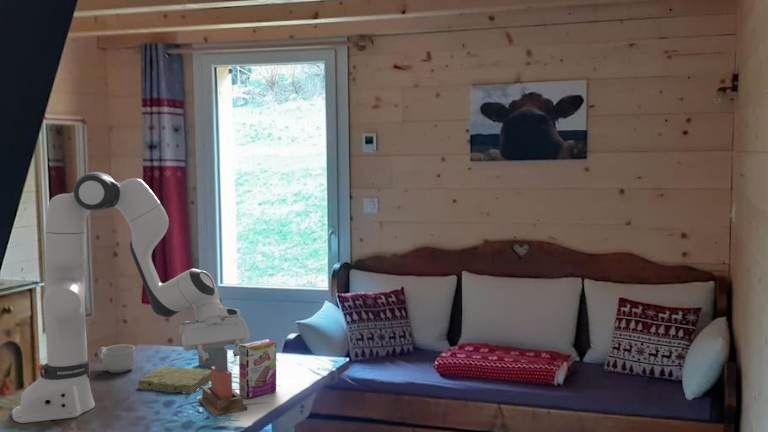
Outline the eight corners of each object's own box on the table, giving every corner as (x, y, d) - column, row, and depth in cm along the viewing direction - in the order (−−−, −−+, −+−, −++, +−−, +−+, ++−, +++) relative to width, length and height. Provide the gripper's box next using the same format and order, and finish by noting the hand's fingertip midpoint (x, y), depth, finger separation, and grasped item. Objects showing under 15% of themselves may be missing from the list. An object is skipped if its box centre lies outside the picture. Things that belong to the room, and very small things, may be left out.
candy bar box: (248, 400, 235) (247, 347, 233) (238, 396, 238) (237, 344, 237) (277, 391, 242) (276, 340, 241) (268, 388, 246) (267, 338, 244)
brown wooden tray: (214, 416, 220) (214, 402, 220) (198, 400, 234) (197, 388, 234) (247, 410, 225) (247, 396, 225) (229, 395, 239) (229, 382, 239)
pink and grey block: (221, 407, 225) (219, 354, 223) (211, 398, 233) (210, 347, 231) (232, 405, 227) (231, 352, 225) (222, 397, 234) (221, 345, 233)
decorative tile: (162, 374, 263) (161, 364, 263) (216, 378, 259) (216, 367, 258) (133, 391, 245) (133, 380, 244) (191, 395, 241) (191, 384, 240)
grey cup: (199, 360, 278) (198, 328, 277) (227, 359, 279) (226, 327, 278) (195, 368, 268) (194, 334, 267) (224, 367, 269) (224, 334, 268)
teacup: (142, 369, 268) (141, 346, 267) (116, 377, 259) (115, 354, 258) (116, 363, 275) (115, 341, 275) (90, 370, 266) (89, 348, 265)
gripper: (178, 316, 228) (189, 356, 220) (244, 309, 238) (256, 347, 231) (175, 328, 232) (185, 368, 225) (239, 320, 242) (251, 358, 235)
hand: (221, 357), depth 228 cm, fingers open, 8 cm apart
